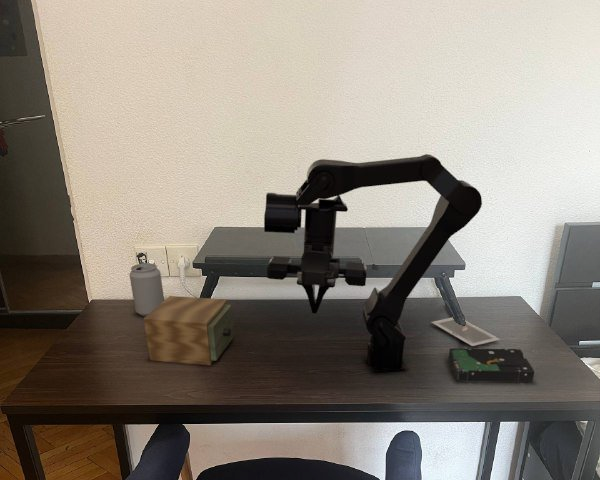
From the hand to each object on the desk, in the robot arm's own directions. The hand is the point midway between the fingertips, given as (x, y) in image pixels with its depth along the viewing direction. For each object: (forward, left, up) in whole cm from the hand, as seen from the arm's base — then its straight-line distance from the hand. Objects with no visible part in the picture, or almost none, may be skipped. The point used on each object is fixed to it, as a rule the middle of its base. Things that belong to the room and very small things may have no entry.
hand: (314, 312), depth 115 cm
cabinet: (+26, -12, -12) cm, 31 cm away
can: (+36, -37, -12) cm, 53 cm away
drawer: (+23, -12, -11) cm, 28 cm away
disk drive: (-35, +8, -12) cm, 38 cm away
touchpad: (-37, -10, -12) cm, 40 cm away
